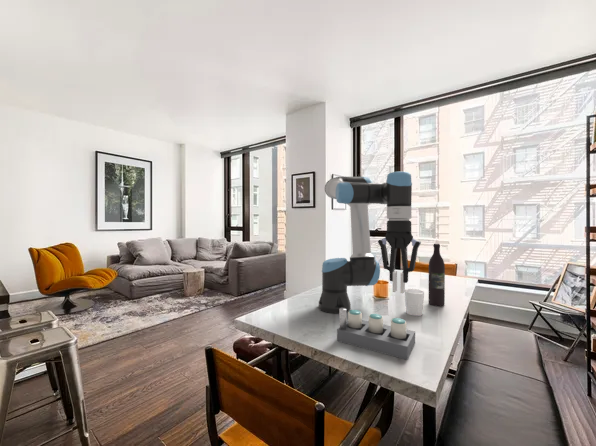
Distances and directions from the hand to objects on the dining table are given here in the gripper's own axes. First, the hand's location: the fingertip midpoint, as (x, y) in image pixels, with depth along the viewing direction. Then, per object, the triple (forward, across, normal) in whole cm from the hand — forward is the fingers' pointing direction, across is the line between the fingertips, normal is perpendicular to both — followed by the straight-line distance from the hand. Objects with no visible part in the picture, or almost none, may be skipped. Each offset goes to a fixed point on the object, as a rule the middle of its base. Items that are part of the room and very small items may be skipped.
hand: (398, 291), depth 87 cm
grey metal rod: (+14, -18, -5) cm, 23 cm away
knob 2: (+14, 0, 0) cm, 14 cm away
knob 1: (+14, -15, 0) cm, 21 cm away
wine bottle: (+19, +6, +56) cm, 59 cm away
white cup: (+19, -2, +37) cm, 41 cm away
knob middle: (+14, -8, 0) cm, 16 cm away
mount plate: (+18, -8, 0) cm, 20 cm away
